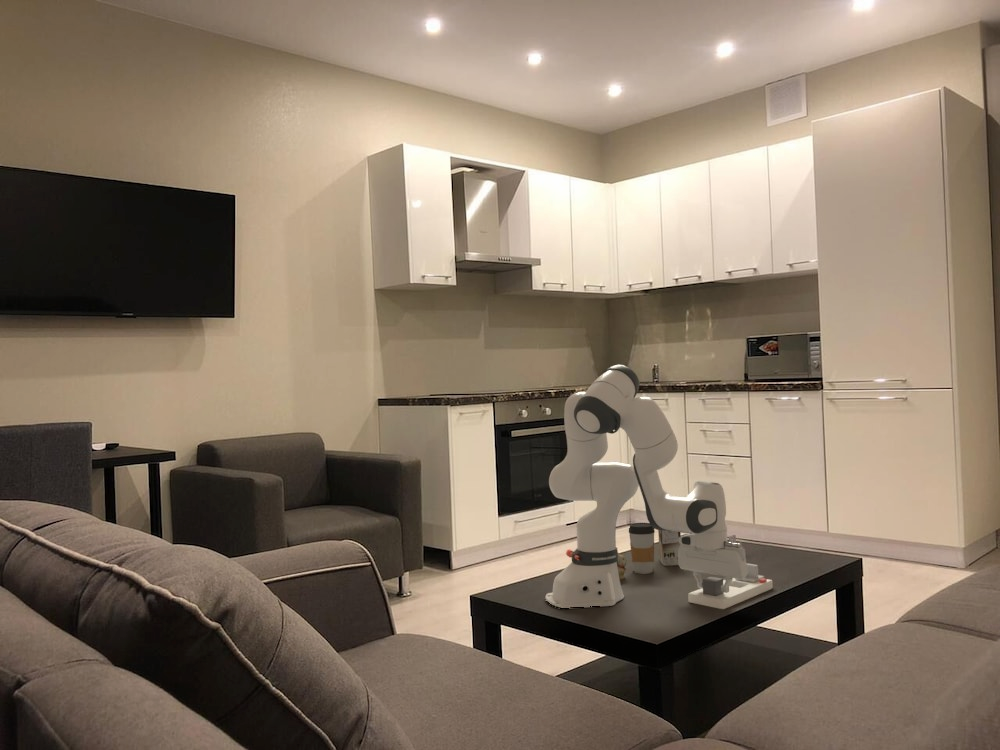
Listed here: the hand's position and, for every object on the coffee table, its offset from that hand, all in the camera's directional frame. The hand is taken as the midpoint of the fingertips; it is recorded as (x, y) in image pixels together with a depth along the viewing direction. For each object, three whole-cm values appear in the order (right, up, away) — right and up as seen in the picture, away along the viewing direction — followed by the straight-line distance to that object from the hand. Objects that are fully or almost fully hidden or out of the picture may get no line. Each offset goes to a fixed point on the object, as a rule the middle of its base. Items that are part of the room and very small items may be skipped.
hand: (713, 589), depth 223 cm
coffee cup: (-13, -4, +37) cm, 40 cm away
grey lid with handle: (+14, 0, +13) cm, 19 cm away
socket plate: (+7, -3, +6) cm, 10 cm away
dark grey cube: (0, -1, 0) cm, 1 cm away
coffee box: (-2, -4, +47) cm, 48 cm away
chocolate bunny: (-23, -5, +30) cm, 39 cm away
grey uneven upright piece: (+27, -3, +54) cm, 61 cm away
